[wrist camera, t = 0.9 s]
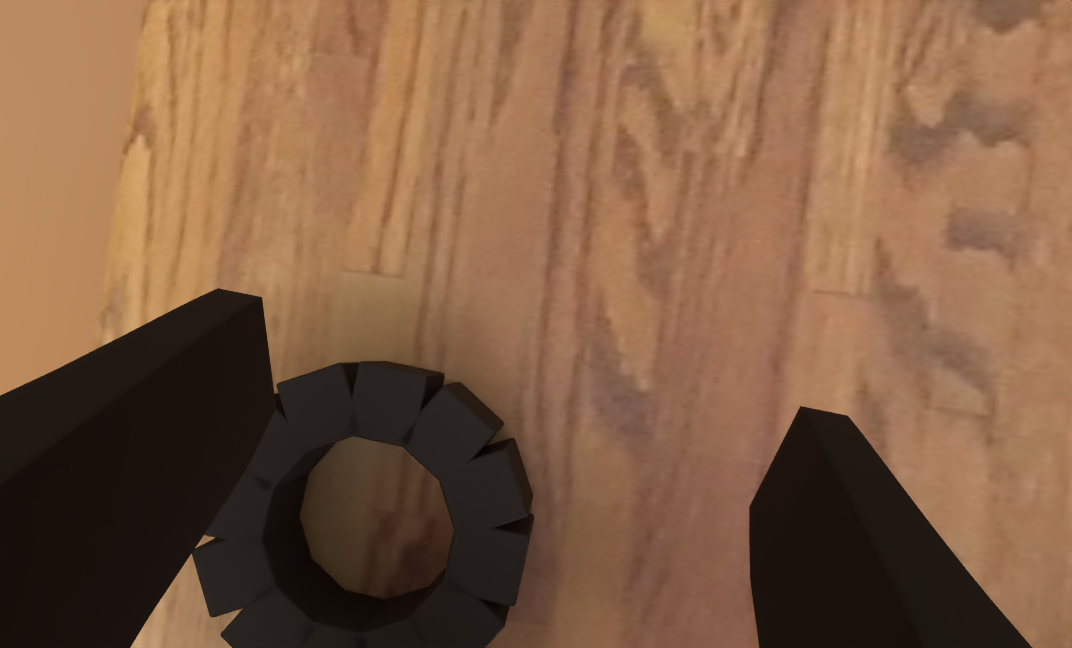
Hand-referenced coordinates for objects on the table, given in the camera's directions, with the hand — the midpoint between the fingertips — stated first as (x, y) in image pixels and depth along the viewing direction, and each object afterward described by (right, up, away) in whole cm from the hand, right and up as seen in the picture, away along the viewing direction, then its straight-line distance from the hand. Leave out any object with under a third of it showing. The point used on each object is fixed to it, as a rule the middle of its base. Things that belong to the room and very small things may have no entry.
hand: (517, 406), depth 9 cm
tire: (-4, -5, +12) cm, 13 cm away
